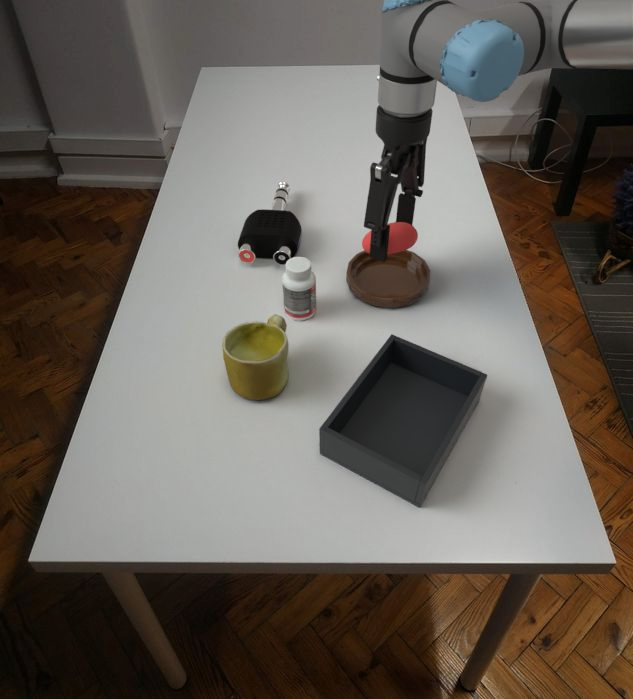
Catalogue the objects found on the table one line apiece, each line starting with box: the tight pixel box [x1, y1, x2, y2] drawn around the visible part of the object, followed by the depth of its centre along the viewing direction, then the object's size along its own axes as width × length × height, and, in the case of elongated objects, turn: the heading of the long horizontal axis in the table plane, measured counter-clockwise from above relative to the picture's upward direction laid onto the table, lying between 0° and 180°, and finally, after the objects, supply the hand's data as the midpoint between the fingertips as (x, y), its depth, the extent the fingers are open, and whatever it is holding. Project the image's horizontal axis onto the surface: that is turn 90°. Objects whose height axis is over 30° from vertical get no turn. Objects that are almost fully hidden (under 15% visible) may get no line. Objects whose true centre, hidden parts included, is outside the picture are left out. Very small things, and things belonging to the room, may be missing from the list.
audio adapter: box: [237, 181, 303, 266], centre depth 107 cm, size 11×5×25 cm
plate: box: [345, 249, 431, 309], centre depth 96 cm, size 14×14×2 cm
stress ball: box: [361, 221, 419, 255], centre depth 90 cm, size 5×9×6 cm
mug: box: [221, 313, 289, 401], centre depth 81 cm, size 12×10×10 cm
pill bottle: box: [281, 256, 317, 322], centre depth 89 cm, size 5×5×10 cm
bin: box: [318, 333, 488, 509], centre depth 74 cm, size 15×20×6 cm
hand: (391, 243), depth 91 cm, fingers closed on stress ball, 8 cm apart
